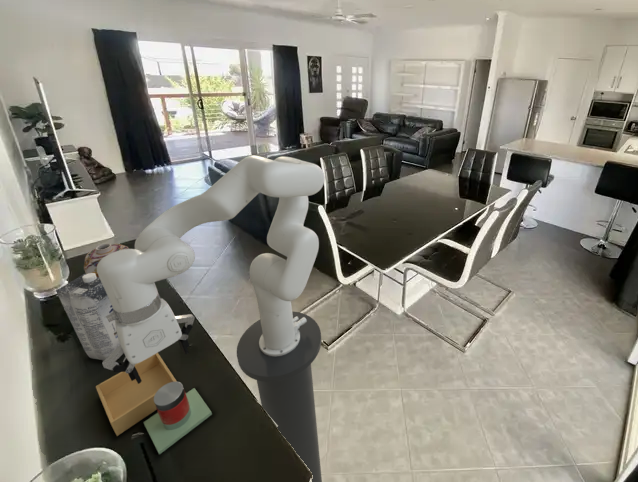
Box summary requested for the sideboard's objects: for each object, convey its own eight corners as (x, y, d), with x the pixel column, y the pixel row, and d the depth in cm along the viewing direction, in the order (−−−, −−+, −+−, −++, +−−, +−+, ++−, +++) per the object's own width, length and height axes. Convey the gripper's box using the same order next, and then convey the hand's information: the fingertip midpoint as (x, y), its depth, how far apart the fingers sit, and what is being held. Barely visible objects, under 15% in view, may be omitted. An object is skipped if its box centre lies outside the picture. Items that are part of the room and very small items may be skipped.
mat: (195, 390, 87) (194, 387, 87) (212, 414, 81) (211, 411, 81) (144, 424, 79) (143, 422, 78) (159, 454, 73) (158, 452, 72)
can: (185, 400, 83) (177, 376, 80) (195, 416, 80) (187, 391, 76) (159, 418, 79) (149, 394, 76) (168, 435, 76) (158, 411, 72)
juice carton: (113, 367, 93) (80, 292, 82) (84, 360, 95) (47, 287, 84) (139, 342, 101) (112, 272, 90) (112, 337, 103) (82, 267, 92)
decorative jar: (104, 280, 129) (88, 242, 122) (138, 273, 134) (125, 236, 126) (94, 299, 119) (77, 258, 112) (132, 290, 124) (118, 251, 117)
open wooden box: (161, 363, 95) (157, 351, 93) (180, 393, 86) (176, 381, 84) (101, 398, 85) (95, 386, 83) (117, 436, 76) (110, 423, 74)
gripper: (90, 342, 58) (122, 403, 65) (190, 292, 70) (208, 348, 77) (81, 322, 62) (111, 381, 69) (177, 278, 74) (194, 332, 81)
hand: (162, 364), depth 73 cm, fingers open, 9 cm apart
